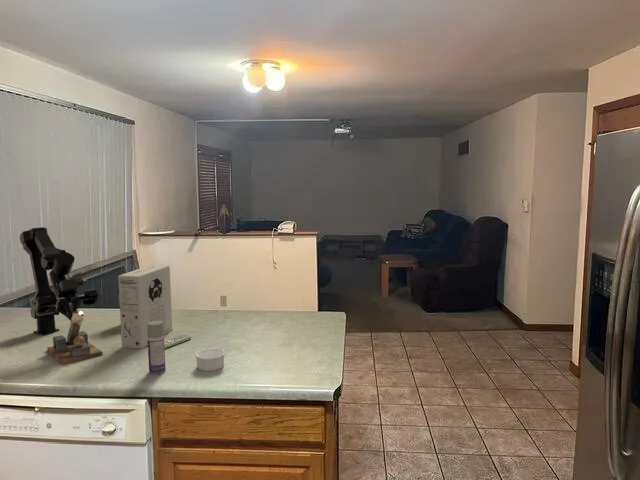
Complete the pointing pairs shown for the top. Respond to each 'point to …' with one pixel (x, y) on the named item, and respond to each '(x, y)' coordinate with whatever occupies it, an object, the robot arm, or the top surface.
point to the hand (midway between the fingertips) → (74, 322)
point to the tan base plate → (73, 349)
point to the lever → (74, 327)
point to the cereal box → (144, 303)
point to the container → (156, 347)
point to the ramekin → (210, 359)
